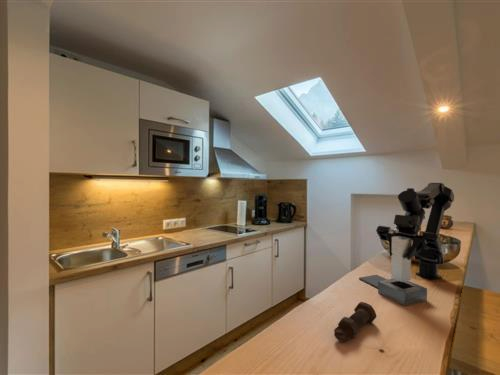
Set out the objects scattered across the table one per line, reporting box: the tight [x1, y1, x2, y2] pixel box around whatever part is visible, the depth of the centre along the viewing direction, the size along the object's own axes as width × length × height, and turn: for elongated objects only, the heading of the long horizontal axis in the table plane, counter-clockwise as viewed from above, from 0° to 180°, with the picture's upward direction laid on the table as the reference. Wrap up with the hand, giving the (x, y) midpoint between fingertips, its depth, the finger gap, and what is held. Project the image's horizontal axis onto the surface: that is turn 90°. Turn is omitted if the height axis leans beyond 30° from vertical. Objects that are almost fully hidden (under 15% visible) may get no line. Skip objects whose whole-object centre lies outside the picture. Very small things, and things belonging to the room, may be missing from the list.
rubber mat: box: [358, 274, 388, 289], centre depth 96 cm, size 9×9×1 cm
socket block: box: [377, 278, 428, 307], centre depth 84 cm, size 10×10×4 cm
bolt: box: [333, 301, 377, 343], centre depth 66 cm, size 6×5×15 cm
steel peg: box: [390, 236, 412, 282], centre depth 84 cm, size 4×4×14 cm
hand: (399, 257), depth 83 cm, fingers closed on steel peg, 5 cm apart
